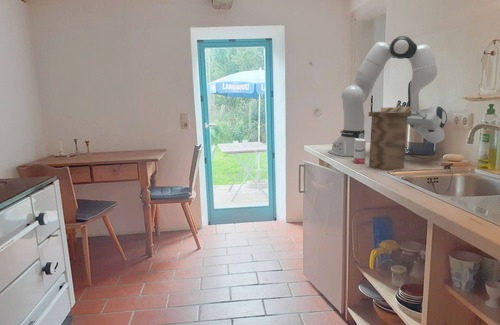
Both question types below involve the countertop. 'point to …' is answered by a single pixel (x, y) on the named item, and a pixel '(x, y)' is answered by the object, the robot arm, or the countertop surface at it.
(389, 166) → the wooden canister
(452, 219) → the countertop surface
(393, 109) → the stick
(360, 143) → the ink box
